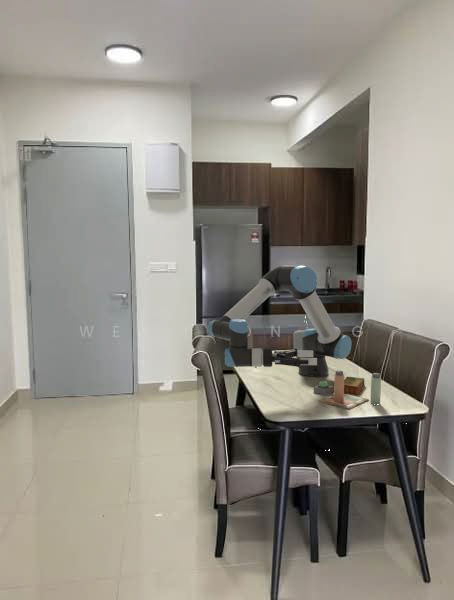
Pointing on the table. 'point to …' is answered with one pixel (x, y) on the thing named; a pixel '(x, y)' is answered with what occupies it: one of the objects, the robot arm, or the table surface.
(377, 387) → the sage marker
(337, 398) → the terracotta marker
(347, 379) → the carton
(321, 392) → the button housing
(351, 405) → the colouring board
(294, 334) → the jar
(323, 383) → the button
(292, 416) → the table surface
